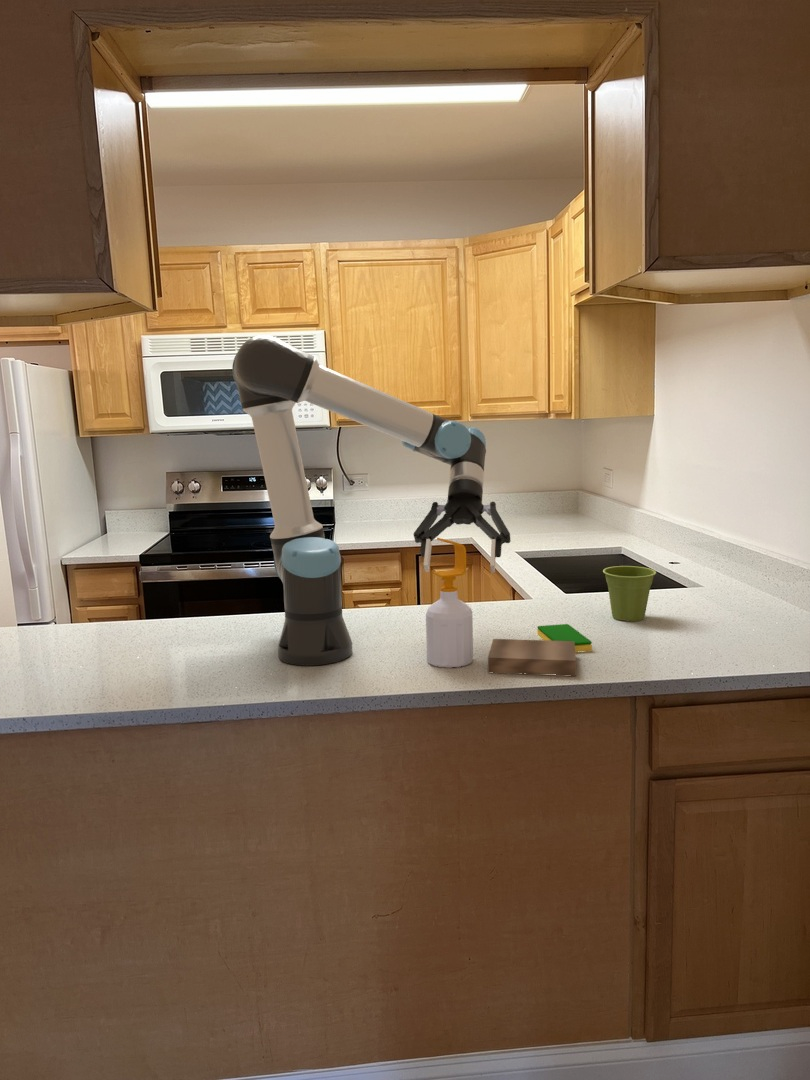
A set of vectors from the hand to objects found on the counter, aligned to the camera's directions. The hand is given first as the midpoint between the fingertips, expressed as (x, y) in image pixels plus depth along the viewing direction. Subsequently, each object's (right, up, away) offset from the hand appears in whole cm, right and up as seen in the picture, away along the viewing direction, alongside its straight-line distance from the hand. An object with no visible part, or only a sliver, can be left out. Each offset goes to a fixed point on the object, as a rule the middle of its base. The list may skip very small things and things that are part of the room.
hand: (459, 569), depth 152 cm
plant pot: (+41, -12, +22) cm, 48 cm away
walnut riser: (+14, -18, -8) cm, 24 cm away
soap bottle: (-2, -18, -5) cm, 19 cm away
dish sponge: (+22, -16, +5) cm, 28 cm away
